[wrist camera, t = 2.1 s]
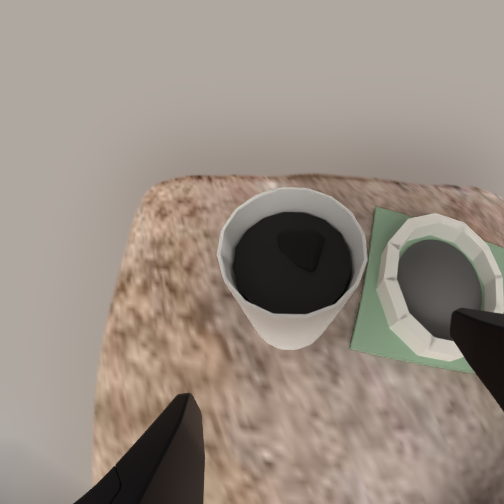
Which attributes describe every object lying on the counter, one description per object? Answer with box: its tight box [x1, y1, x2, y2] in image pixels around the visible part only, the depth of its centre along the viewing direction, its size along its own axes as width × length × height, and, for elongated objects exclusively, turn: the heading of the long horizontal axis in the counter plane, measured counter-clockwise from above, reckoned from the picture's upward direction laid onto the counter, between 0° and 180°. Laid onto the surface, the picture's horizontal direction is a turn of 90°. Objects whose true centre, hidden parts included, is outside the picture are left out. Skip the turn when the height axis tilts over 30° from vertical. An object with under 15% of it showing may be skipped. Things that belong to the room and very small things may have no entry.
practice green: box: [349, 207, 504, 373], centre depth 18 cm, size 21×13×3 cm, turn 70°
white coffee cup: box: [217, 187, 368, 350], centre depth 16 cm, size 7×7×10 cm
